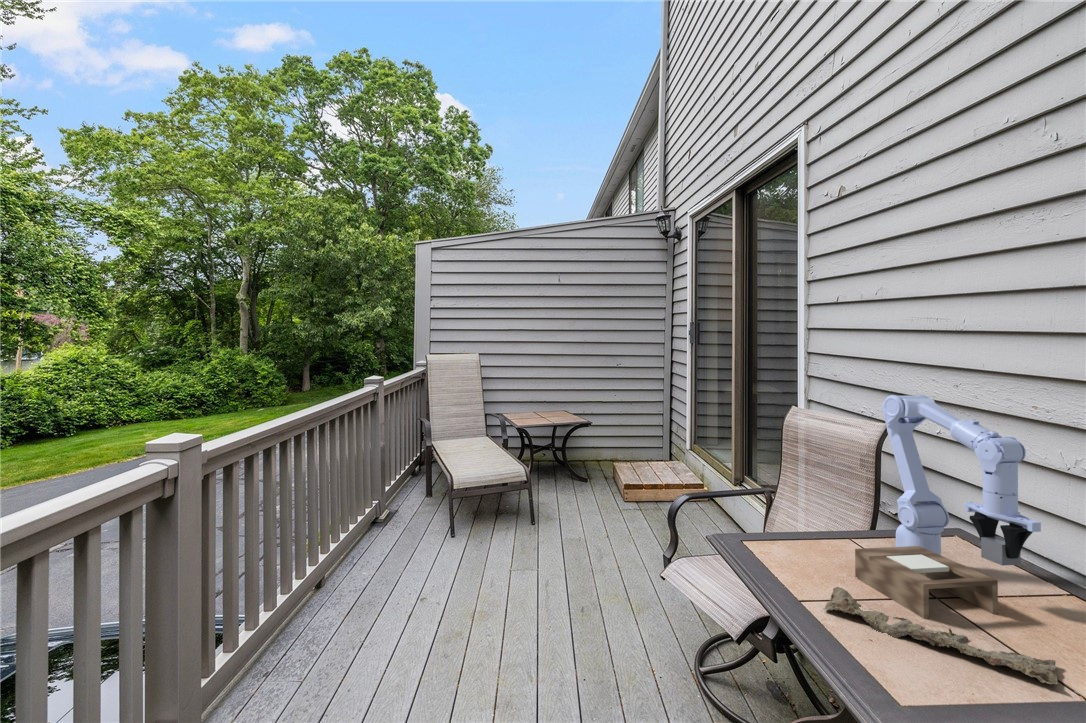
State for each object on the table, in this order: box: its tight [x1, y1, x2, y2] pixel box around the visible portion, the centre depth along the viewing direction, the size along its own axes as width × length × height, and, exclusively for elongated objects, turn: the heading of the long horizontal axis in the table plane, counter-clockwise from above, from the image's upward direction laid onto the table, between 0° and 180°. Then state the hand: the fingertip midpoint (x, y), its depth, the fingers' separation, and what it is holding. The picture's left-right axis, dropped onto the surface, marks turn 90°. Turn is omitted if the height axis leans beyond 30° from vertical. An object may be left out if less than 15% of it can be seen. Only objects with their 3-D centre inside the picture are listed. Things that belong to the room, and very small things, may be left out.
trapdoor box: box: [854, 546, 999, 619], centre depth 110 cm, size 19×17×7 cm
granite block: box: [980, 535, 1022, 567], centre depth 107 cm, size 4×4×4 cm
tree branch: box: [823, 586, 1059, 685], centre depth 93 cm, size 34×10×3 cm, turn 45°
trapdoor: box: [887, 555, 949, 573], centre depth 111 cm, size 7×9×1 cm
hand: (1000, 553), depth 107 cm, fingers closed on granite block, 4 cm apart
